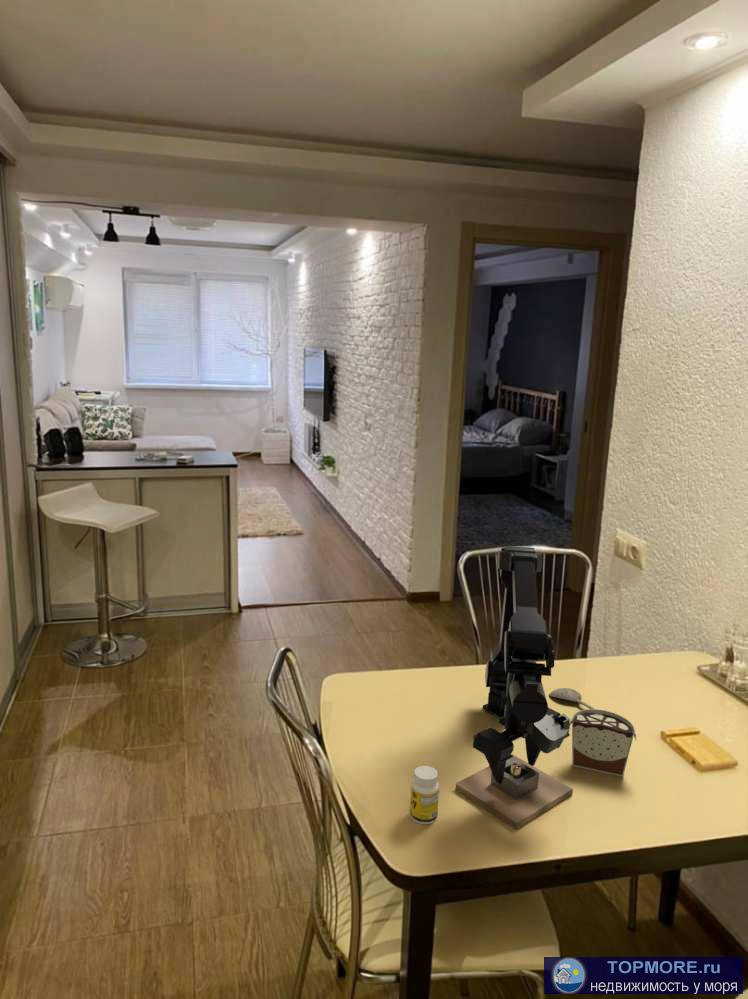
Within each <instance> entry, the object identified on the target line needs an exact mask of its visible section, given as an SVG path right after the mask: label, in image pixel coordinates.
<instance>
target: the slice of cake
mask: <svg viewBox="0 0 748 999" xmlns="http://www.w3.org/2000/svg"><path fill="white" fill-rule="evenodd" d="M570 726H571V730H572V731H571V732H572V733H571V738H572V739H571V744H572V745H571V746H572V749H571V750H572V754H571V755H572V756H571V757H572V763H571V764H572V767H576V768H581V769H586V770H591V771H596V772H600V773H604V774H605V773H606V774H608V775H614V776H617V777H618V776H619V777H624V774H625V770H626V767H627V764H628V760H629V755H630V752H631V748H632V743H633V740H635V741H637V735H636V734H637V733H636V730H635V726H634V724H633V723H632V722H630V721H629V719H627V718H626V717H624V716H622V715H619V714H618V713H616V712H613V711H612V712H611V711H608V710H603V709H597V708H594V709H589V708H587V709H582V710H579V711H577V712H575V713H574V714H573V715H572V717H571V719H570ZM633 738H634V739H633Z"/></svg>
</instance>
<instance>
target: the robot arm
mask: <svg viewBox="0 0 748 999" xmlns="http://www.w3.org/2000/svg"><path fill="white" fill-rule="evenodd" d="M496 557H497V559H496V560H497V561H496V567H497V569H498V570H499V575H500V577H499V578H500V580H501V583H502V584H503V585H504V596H503V606H502V617H501V625H500V636H499V642H498V643H497V644H496V645H495V646H494V647H493V648H492V649H491V654H490V659H489V660H488V659H487V662H486V666H485V671H484V672H485V677H484V678H485V687H486V688H489V692H488V697H487V698H488V699H487V703H485V704H483V705H482V709H484V710H485V711H487V712H489V713H491V714H493V715H495V716H497V717H499V718H498V725H499V724H500V725H501V726H503V729H505V730H503V731H502V732H500V731H499V730H496V729H495V728H493V727H487V728H485V729H483V730H481V731H479V732H477V733H475V734H474V735H473V737H472V748H473V749H475V750H476V751H478V752H480V753H481V754H483V756H484V757H485V760H486V761H487V763H488V766H490V768H491V771H492V773H493V776H494V778H495V780H496V782H497V783H499V784H501V783H502V781H503V777H504V771H505V766H506V761H507V760H508V759H510V758H512V757H513V755H514V754H513V751H514V747H515V746H514V745H515V744H514V742H516V741H518V740H520V739H522V738H523V739H524V742H525V749H526V750H525V752H526V758H527V763H528V764H530V765H531V766H534V767H535V764H536V763H537V760H538V758H539V756H540V754H541V752H542V753H544V754H550V753H552V752H553V751H554V750H556V749H559V748H560V747H561V746H562V744H563V742H564V740H565V739H567V738H569V737H570V727H571V725H570V721H571V719H570V718H569V717H568V716H567V715H566V713H562V714H561V713H560V712H558V711H556V710H554V709H552V708H550V707H549V705H548V700H547V697H546V693H545V689H544V685H543V683H542V676H543V677H544V676H546V677H552V669H554V667H555V648H554V647H555V646H554V645H555V644H554V641H553V639H552V636H551V634H549V633H548V627H547V621H546V620H545V619H544V618H543V617H542V615H541V614H540V613H539V604H538V593H537V590H538V589H537V578H536V576H537V573H541V572H542V564H543V563H542V560H543V554H542V553H539V552H536V550H535V547H531V546H530V547H529V546H513V545H504V546H503V547H502V548H500V550H497V556H496ZM544 659H545V663H539V662H538V661H540V662H542V661H543V660H544ZM536 661H537V662H536ZM511 754H513V755H511Z"/></svg>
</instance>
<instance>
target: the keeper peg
mask: <svg viewBox="0 0 748 999" xmlns="http://www.w3.org/2000/svg"><path fill="white" fill-rule="evenodd" d="M510 775H511V776H512V777H514V778H516V779H518V778H520V775H521V765H519V764H517V763H513V764H511V772H510Z"/></svg>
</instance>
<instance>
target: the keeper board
mask: <svg viewBox="0 0 748 999" xmlns="http://www.w3.org/2000/svg"><path fill="white" fill-rule="evenodd" d="M511 755H513V757H512V758H514V759H516V760H518V761H519V762H521V763H523V764H524V765H526V766H528V767H530V768H531V769H533V770H535V771H537V772H538V773H539V781H538V788H537V789H535V790H533V791H532V792H530V793H528V794H526V795H525V796H523V797H521V798H519V799H518V800H516V799H514V798H512V797H511V796H509V795H508V794H506V793H504V792H503V791H501V790H500V789H498V788H496V787H495V786H493V785H492V784H491V773H492V771H491V768H490V766H489V765H488V766H486V767H484V768H483V769H481V770H479V771H477V772H475V773H473V774H471V775H469V776H467V777H465V778H463V779H461V780H460V781H457V782H456V783H455V790H456V791H458V792H459V793H460V794H461V795H463V796H464V797H467V798H468V799H470V800H471V801H472V802H474V803H475V804H477V805H478V806H480V807H481V808H483V809H484V810H486V811H488V812H489V813H491V814H492V815H493V816H495V817H497V818H498V819H500V820H501V821H503V822H504V823H506V824H507V825H508V826H510V827H512V828H513V829H514V830H518V829H520V828H522V827H523V826H524V825H526V824H528V823H529V822H531V821H532V820H534V819H535V818H537V817H539V816H540V815H542V814H544V813H545V812H547V811H548V810H550V809H551V808H553V807H554V806H556V805H558V804H560V803H561V802H563V801H564V800H565V799H568V798H570V797H571V796H572V795H573V792H574V788H573V787H571V786H569V785H567V784H566V783H564V782H562V781H560V780H559V779H557V778H555V777H553V776H551V775H550V774H548V773H547V772H545V771H543V770H541V769H539V768H537V767H535V765H534V766H531V765H530V764H528V761H525V760H524V759H521V758H520V757H518V756H516V755H515V754H513V753H511ZM512 758H510V759H512ZM510 759H508V760H510ZM508 760H507V761H508ZM530 820H531V821H530ZM527 822H528V823H527ZM525 823H526V824H525ZM522 825H523V826H522ZM519 827H520V828H519Z"/></svg>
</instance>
